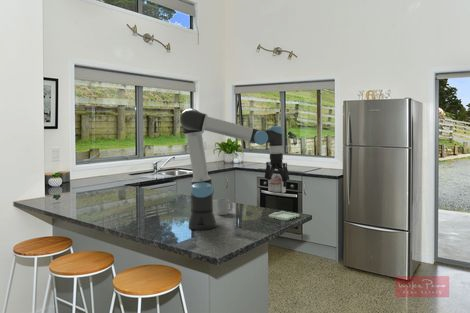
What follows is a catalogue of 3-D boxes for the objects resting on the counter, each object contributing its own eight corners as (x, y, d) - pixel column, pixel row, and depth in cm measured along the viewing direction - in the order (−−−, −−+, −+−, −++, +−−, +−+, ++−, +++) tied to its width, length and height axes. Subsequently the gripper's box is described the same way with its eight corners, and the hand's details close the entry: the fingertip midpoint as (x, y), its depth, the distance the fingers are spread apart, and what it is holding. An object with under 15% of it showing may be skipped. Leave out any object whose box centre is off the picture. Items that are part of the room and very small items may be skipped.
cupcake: (265, 192, 227) (265, 175, 226) (275, 189, 234) (274, 173, 233) (278, 193, 221) (278, 176, 220) (288, 191, 227) (287, 174, 227)
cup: (216, 212, 247) (215, 198, 246) (231, 211, 249) (231, 197, 248) (218, 215, 240) (218, 201, 239) (234, 214, 242) (234, 200, 241)
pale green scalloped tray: (286, 220, 224) (286, 218, 224) (267, 216, 234) (267, 214, 234) (299, 216, 234) (299, 214, 234) (280, 213, 244) (280, 210, 243)
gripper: (295, 153, 220) (296, 192, 222) (266, 151, 236) (266, 188, 238) (287, 154, 215) (288, 194, 217) (257, 152, 230) (258, 190, 232)
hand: (277, 191), depth 227 cm, fingers closed on cupcake, 9 cm apart
